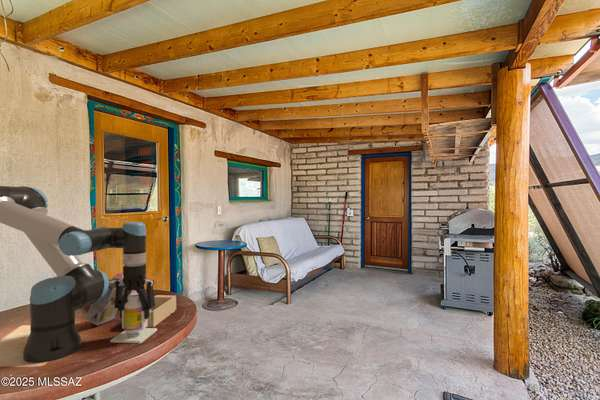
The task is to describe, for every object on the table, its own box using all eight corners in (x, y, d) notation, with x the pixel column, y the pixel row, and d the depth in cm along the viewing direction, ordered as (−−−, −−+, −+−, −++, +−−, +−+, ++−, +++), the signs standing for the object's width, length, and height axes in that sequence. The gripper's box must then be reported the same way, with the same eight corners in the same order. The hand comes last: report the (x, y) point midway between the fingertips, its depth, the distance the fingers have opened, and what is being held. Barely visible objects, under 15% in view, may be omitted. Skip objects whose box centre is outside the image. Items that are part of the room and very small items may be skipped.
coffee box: (102, 312, 135) (117, 277, 134) (114, 319, 133) (129, 284, 133) (84, 318, 125) (100, 281, 125) (96, 326, 124) (113, 288, 124)
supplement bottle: (137, 334, 113) (137, 297, 113) (120, 333, 114) (120, 297, 114) (148, 326, 120) (148, 292, 120) (131, 326, 120) (131, 291, 120)
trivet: (110, 342, 112) (110, 340, 112) (129, 329, 123) (129, 327, 123) (140, 343, 111) (140, 341, 111) (157, 330, 122) (157, 328, 122)
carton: (123, 328, 124) (123, 312, 124) (155, 308, 147) (155, 295, 147) (150, 329, 123) (150, 313, 123) (178, 308, 146) (178, 295, 146)
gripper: (102, 266, 114) (102, 330, 114) (154, 266, 112) (155, 332, 112) (115, 262, 121) (116, 322, 121) (165, 262, 120) (165, 324, 120)
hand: (134, 327), depth 117 cm, fingers closed on supplement bottle, 7 cm apart
